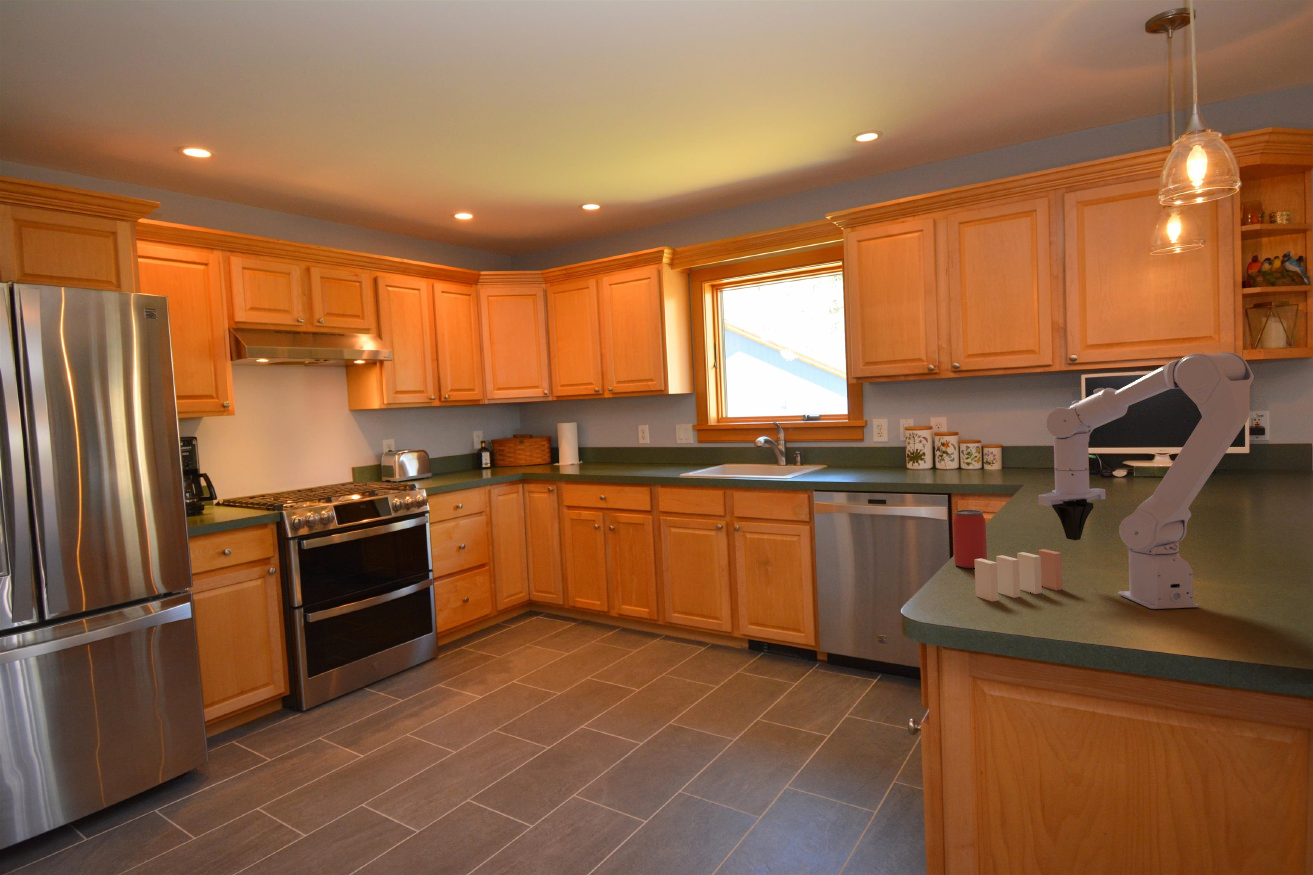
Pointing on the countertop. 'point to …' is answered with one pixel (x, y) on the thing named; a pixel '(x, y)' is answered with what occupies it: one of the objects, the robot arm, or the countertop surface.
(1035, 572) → the ivory domino
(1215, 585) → the countertop surface
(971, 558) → the beer can
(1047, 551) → the rust domino
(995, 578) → the ivory domino
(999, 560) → the ivory domino
